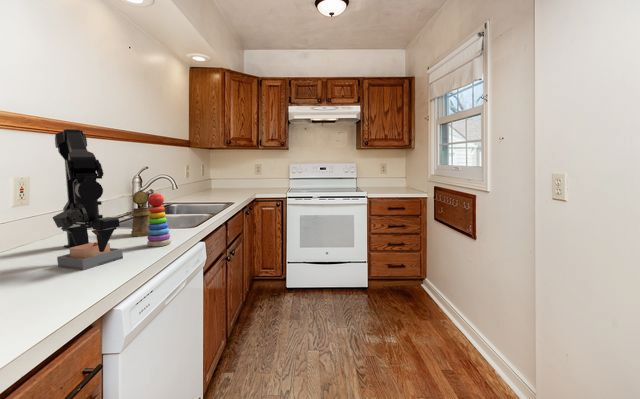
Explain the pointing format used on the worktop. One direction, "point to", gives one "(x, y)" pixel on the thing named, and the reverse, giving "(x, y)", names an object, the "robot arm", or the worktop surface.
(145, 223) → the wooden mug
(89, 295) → the worktop surface
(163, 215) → the stacking toy
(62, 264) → the tray
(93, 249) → the salmon orange block
